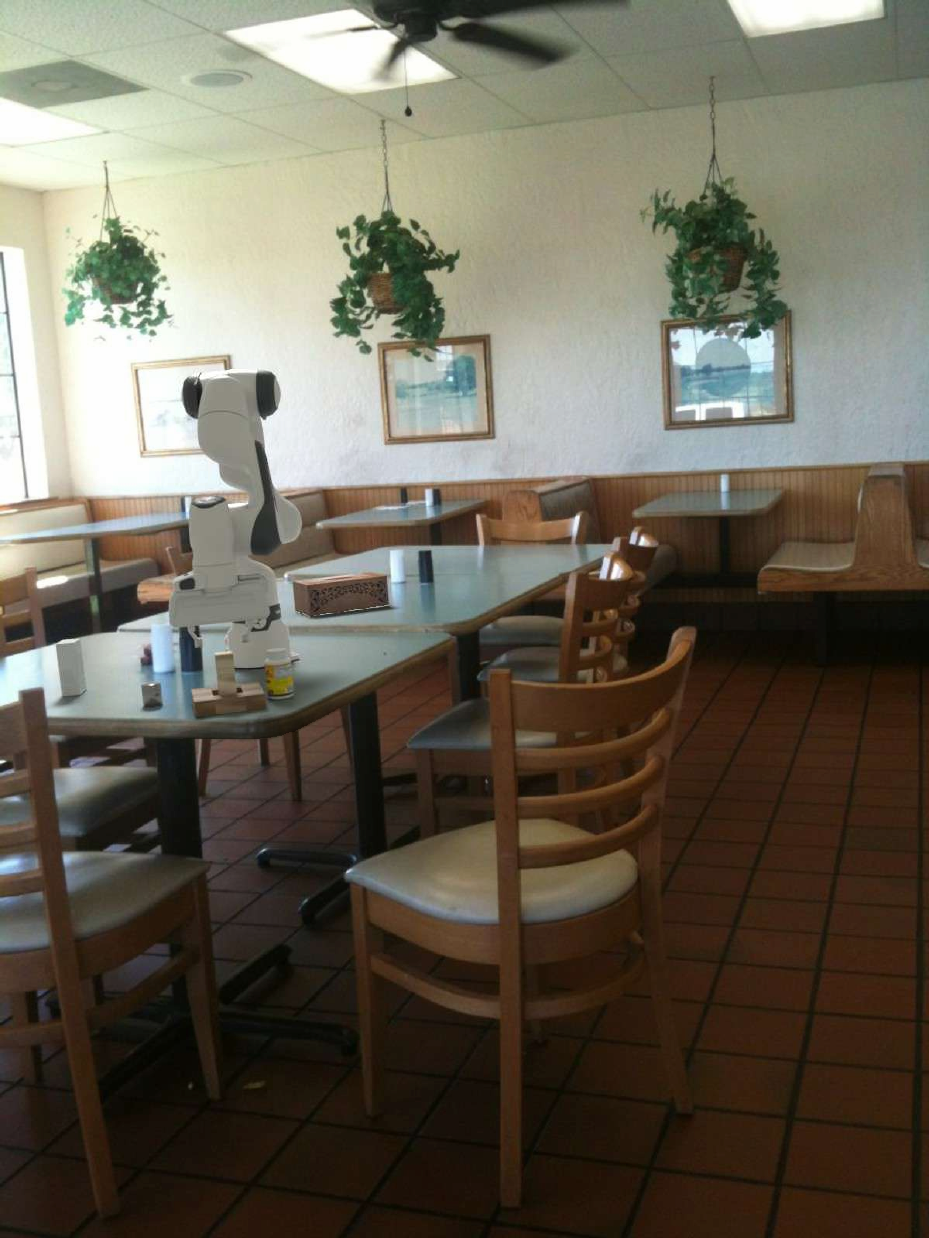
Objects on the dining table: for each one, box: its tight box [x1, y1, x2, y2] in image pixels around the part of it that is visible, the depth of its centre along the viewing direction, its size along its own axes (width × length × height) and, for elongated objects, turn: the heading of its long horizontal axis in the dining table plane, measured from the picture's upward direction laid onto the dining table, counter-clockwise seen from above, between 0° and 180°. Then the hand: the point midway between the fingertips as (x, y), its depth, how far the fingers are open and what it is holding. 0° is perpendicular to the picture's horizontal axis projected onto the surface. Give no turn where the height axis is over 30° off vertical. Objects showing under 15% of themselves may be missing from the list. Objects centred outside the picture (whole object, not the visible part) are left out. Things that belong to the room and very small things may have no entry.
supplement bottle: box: [264, 648, 295, 701], centre depth 263 cm, size 6×6×10 cm
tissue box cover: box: [292, 571, 390, 617], centre depth 389 cm, size 26×14×10 cm, turn 115°
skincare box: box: [55, 638, 87, 697], centre depth 282 cm, size 6×4×12 cm
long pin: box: [213, 651, 237, 695], centre depth 258 cm, size 4×4×11 cm
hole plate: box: [190, 681, 267, 718], centre depth 258 cm, size 14×14×3 cm
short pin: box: [140, 681, 164, 708], centre depth 264 cm, size 4×4×4 cm
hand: (222, 644), depth 257 cm, fingers open, 8 cm apart
